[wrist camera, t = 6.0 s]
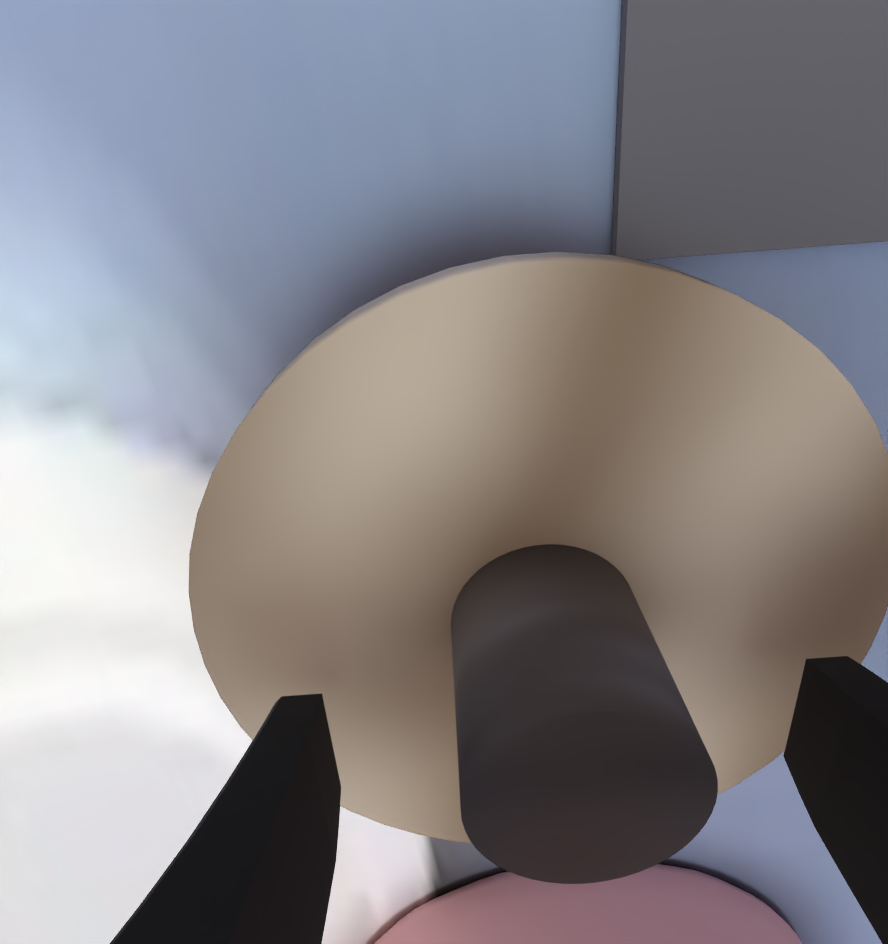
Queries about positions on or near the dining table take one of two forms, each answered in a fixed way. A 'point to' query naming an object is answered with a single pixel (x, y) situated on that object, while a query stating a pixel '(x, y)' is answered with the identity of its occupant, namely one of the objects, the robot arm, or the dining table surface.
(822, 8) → the mat
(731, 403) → the lid
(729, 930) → the cake
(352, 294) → the dining table surface
